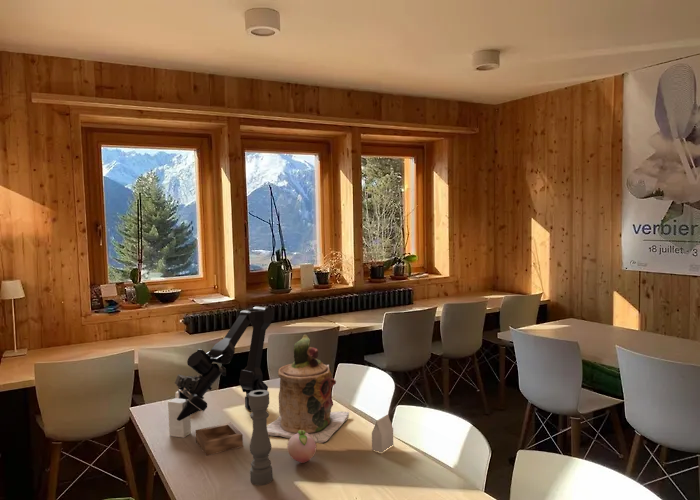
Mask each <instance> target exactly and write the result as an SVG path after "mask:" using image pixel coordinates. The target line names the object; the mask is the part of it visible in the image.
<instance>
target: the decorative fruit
mask: <svg viewBox="0 0 700 500" xmlns="http://www.w3.org/2000/svg"><path fill="white" fill-rule="evenodd" d="M316 443H317V442H315V441H314V440H313V438H312V437H311V436H310V435H309V434H308V433H306V432H305V431H304V430H299V431H298V433H297V434H295V435H293V436H292V437H291V438H288V441H287V447H286V448H287V452H288V454H289V457H291V459H293V460H294V461H297V462H299V463H301V464H304V463H307V462H308V461H310V460H311V459H312V458H313V457H314V455H315V454H316V452H317V444H316Z"/></svg>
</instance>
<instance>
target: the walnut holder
mask: <svg viewBox="0 0 700 500" xmlns="http://www.w3.org/2000/svg"><path fill="white" fill-rule="evenodd" d="M243 436H244V435H243V433H242V432H241V431H240V430H239V429H238V428H237V427H236V426H235V425H234V424H233V423H232V422H227V423H221V424H217V425H212V426H209V427H203V428H199V429H195V443H196V444H197V445H198V447H199V448H200V450H201V451H202V452H203V453H204V455H205V456H209V455H213V454H214V455H215V454H218V453H221V452H225V451H230V450H234V449H238V448H242V447H244V438H243Z"/></svg>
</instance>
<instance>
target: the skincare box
mask: <svg viewBox="0 0 700 500" xmlns="http://www.w3.org/2000/svg"><path fill="white" fill-rule="evenodd" d="M187 400H188V399H187ZM185 405H186V399H179V398H176V397H175V398H173V399H171V400H169V401H168V402H167V409H168V410H167V411H168V431H169V433H168V434H169V437H177V438H183V439H184V438H186V437H187V436H188V435H190V434H191V433H192V426H191V415H190V416H188V417H186V418H184V419H182V420H180V421H178V420H177V418H178V416H179V414H180V413H181V411H182V410H183V408H184V407H185Z"/></svg>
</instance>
